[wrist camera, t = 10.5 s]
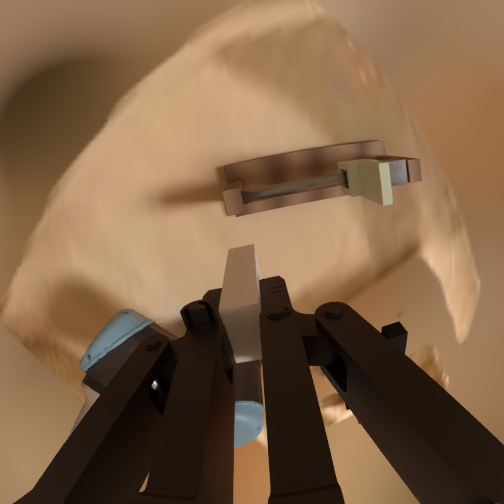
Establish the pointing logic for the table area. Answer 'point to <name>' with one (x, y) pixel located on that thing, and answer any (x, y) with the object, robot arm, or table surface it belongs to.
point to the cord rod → (320, 183)
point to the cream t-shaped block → (367, 180)
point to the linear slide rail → (300, 174)
